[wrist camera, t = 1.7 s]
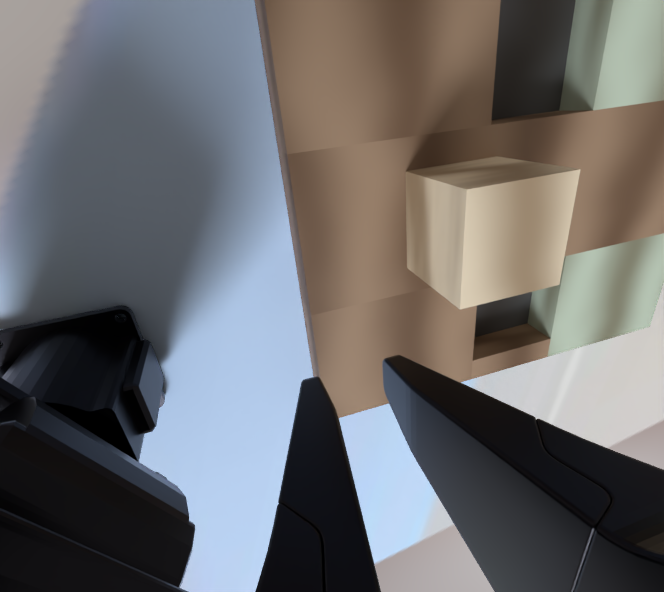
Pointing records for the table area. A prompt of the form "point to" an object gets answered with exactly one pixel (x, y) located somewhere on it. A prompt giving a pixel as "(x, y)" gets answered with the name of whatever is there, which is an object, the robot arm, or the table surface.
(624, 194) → the trap deck
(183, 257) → the table surface
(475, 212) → the block
